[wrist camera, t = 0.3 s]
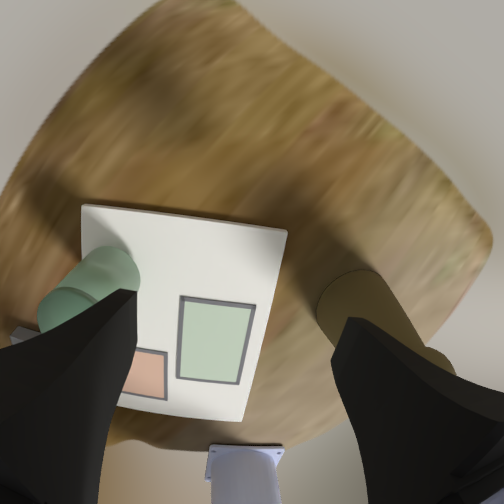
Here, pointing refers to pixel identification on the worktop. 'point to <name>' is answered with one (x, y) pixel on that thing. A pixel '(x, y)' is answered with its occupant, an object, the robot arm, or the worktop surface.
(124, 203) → the worktop surface
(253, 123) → the worktop surface
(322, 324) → the olive brown cylinder
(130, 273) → the green cylinder
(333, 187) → the worktop surface
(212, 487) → the robot arm
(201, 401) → the picture card
